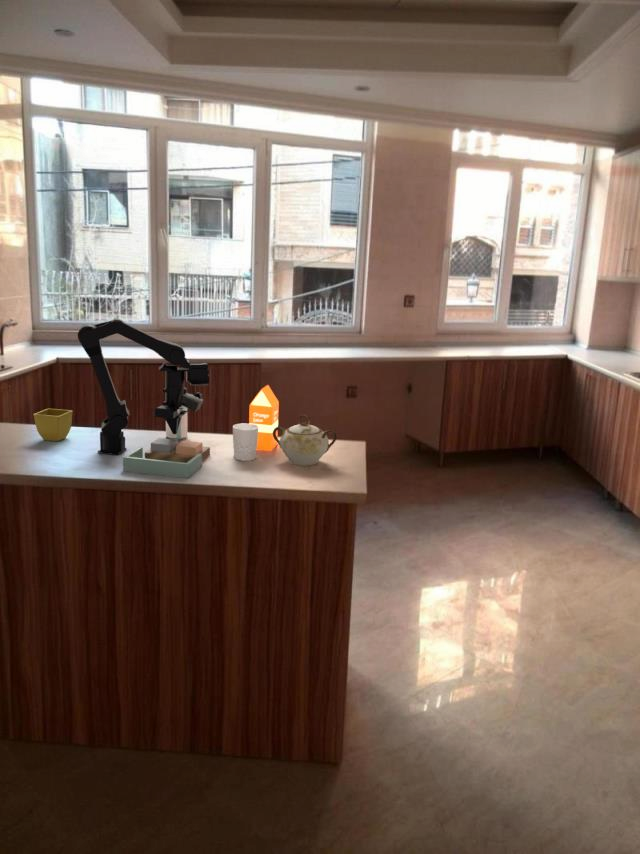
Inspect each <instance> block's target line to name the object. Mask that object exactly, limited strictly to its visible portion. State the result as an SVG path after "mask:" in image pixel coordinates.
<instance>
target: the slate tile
mask: <svg viewBox="0 0 640 854" xmlns="http://www.w3.org/2000/svg"><path fill="white" fill-rule="evenodd" d="M178 440H179V439H170V438H166V437H165V438H164V437H158V438H155V440H153V441H151V442H150V449H151V451H155V452H164V453H171V452H172V451H174V450H175V449H176V446H177V445H178V444H179V442H178Z"/></svg>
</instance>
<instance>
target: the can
mask: <svg viewBox="0 0 640 854" xmlns="http://www.w3.org/2000/svg"><path fill="white" fill-rule="evenodd" d="M182 408H183V410H185V411H188V408H187V407H184V406H183V407H182ZM165 436H166V437H167V439H174V440H184V439H185V438H186V437H188V412H187V413H185V414H184V415H183V416H182V418H181V421H180V425H179V428H178V432H177V434H173V433H172V431H171V429H170V427H169V425H168V423H167V421H166V420H165Z"/></svg>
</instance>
